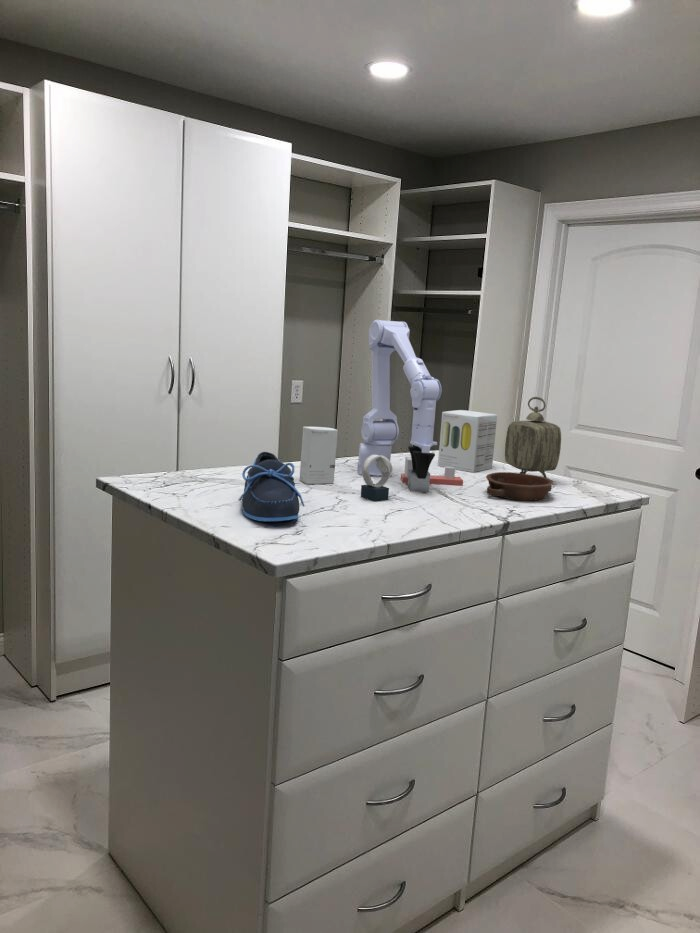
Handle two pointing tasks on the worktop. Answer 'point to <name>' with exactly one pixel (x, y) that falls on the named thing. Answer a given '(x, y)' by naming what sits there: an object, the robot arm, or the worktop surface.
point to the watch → (378, 490)
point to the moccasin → (270, 490)
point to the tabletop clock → (533, 443)
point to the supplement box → (467, 440)
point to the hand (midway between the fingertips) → (419, 475)
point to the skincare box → (318, 455)
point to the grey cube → (418, 482)
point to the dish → (518, 486)
